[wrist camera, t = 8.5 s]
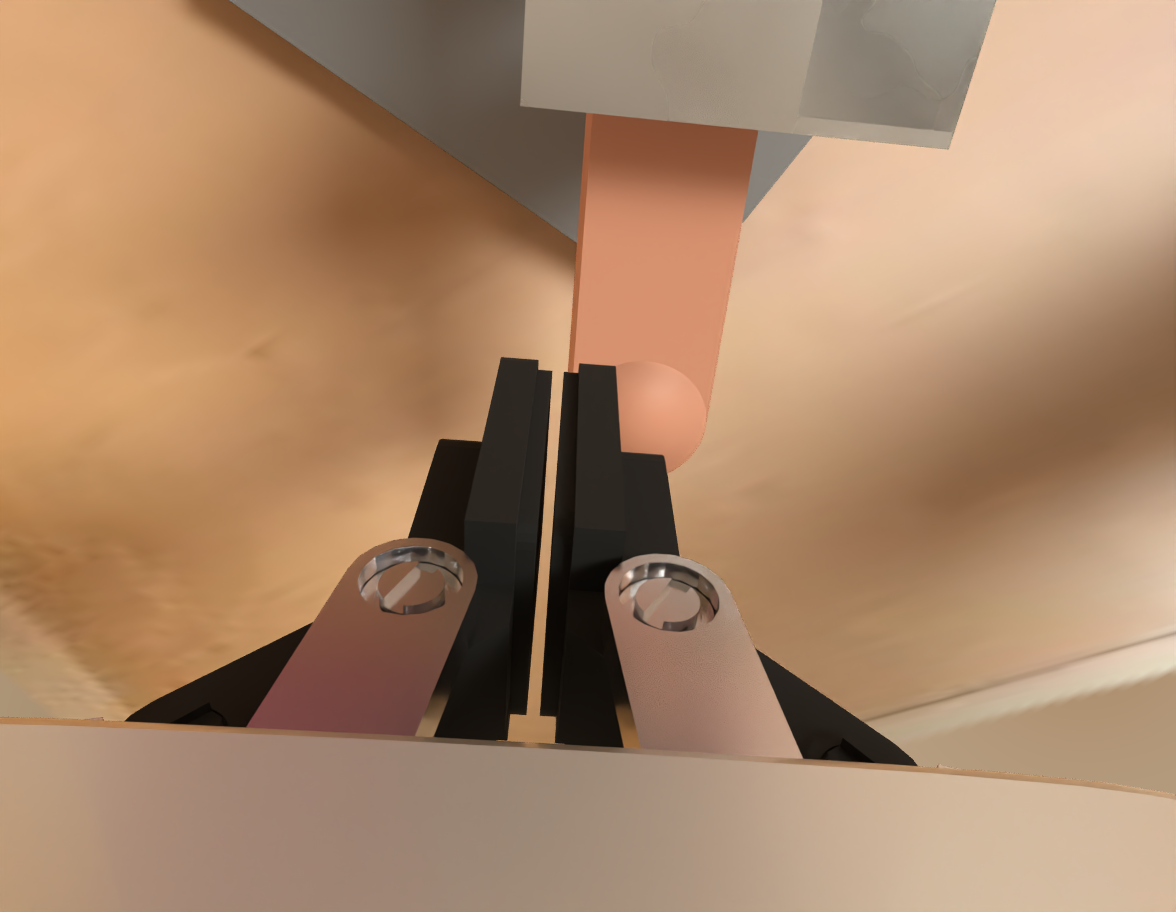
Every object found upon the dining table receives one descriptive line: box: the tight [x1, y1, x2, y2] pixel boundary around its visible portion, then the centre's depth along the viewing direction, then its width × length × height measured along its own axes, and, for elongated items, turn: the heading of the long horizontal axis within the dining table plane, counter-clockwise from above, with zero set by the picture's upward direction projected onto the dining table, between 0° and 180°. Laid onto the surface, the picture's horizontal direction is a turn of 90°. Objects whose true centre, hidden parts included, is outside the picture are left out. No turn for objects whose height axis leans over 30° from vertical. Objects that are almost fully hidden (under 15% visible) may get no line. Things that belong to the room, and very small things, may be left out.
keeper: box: [520, 0, 996, 149], centre depth 16 cm, size 3×7×11 cm, turn 84°
